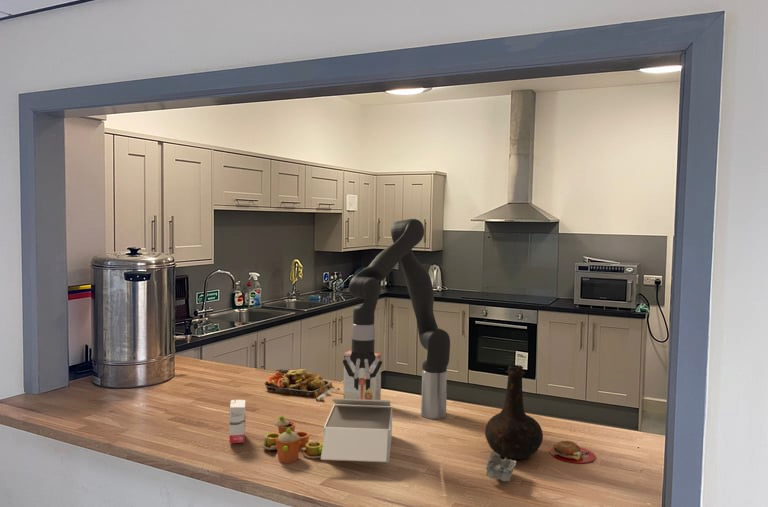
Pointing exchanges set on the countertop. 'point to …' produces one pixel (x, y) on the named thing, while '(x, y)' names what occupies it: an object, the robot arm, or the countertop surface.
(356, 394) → the cracker box
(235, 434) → the ink box
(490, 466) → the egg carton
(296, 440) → the toy tea set
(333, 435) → the carton
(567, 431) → the countertop surface
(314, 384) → the food tray
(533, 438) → the glass bottle
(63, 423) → the countertop surface
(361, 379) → the flap
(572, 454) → the hamburger
